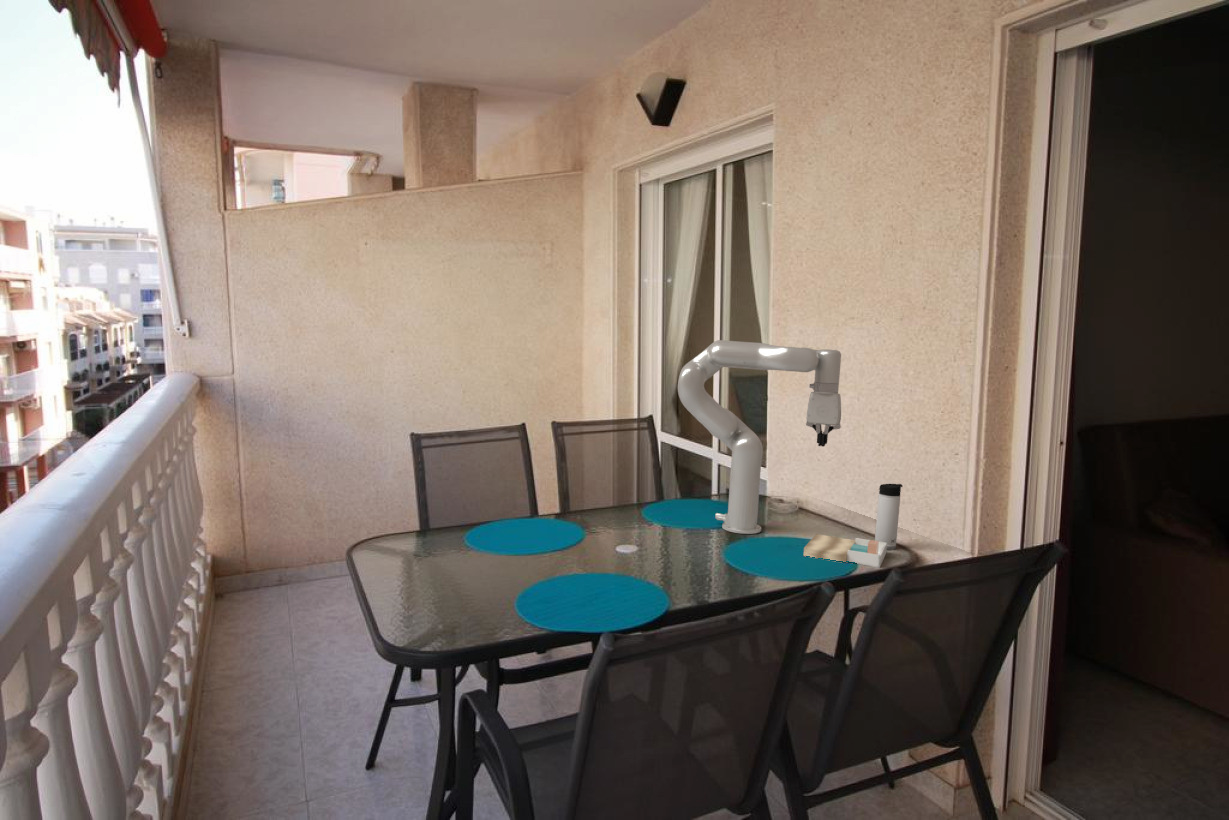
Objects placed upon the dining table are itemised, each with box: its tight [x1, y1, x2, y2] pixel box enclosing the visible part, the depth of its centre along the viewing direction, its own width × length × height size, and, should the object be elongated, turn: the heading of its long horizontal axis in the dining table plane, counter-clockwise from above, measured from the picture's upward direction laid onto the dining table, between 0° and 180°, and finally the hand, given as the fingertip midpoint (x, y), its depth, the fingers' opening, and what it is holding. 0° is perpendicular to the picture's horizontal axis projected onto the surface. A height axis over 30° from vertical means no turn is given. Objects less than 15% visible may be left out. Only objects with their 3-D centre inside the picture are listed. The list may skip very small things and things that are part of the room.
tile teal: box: [851, 544, 868, 553], centre depth 225 cm, size 4×4×2 cm
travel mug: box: [874, 483, 903, 551], centre depth 236 cm, size 6×7×20 cm
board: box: [803, 534, 855, 563], centre depth 228 cm, size 12×18×2 cm, turn 154°
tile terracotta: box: [867, 539, 879, 555], centre depth 223 cm, size 4×4×2 cm
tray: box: [847, 537, 887, 569], centre depth 224 cm, size 9×16×4 cm, turn 154°
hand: (821, 445), depth 245 cm, fingers closed
